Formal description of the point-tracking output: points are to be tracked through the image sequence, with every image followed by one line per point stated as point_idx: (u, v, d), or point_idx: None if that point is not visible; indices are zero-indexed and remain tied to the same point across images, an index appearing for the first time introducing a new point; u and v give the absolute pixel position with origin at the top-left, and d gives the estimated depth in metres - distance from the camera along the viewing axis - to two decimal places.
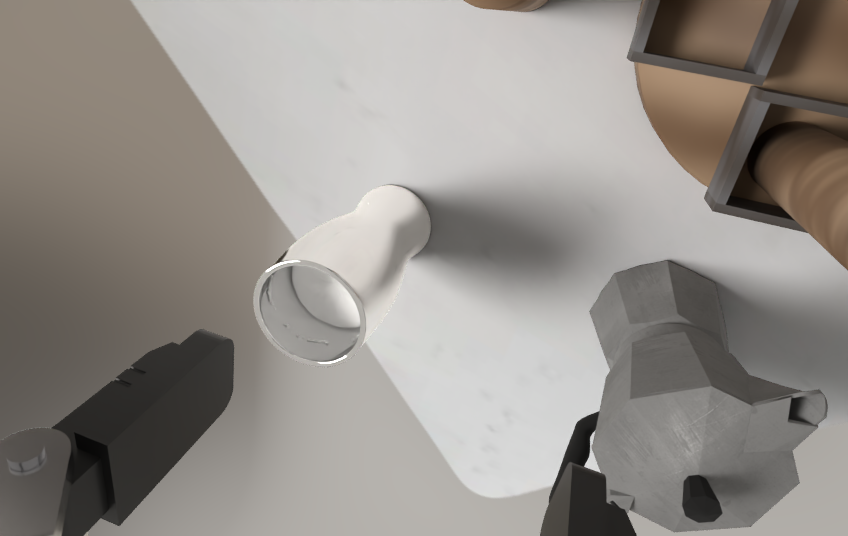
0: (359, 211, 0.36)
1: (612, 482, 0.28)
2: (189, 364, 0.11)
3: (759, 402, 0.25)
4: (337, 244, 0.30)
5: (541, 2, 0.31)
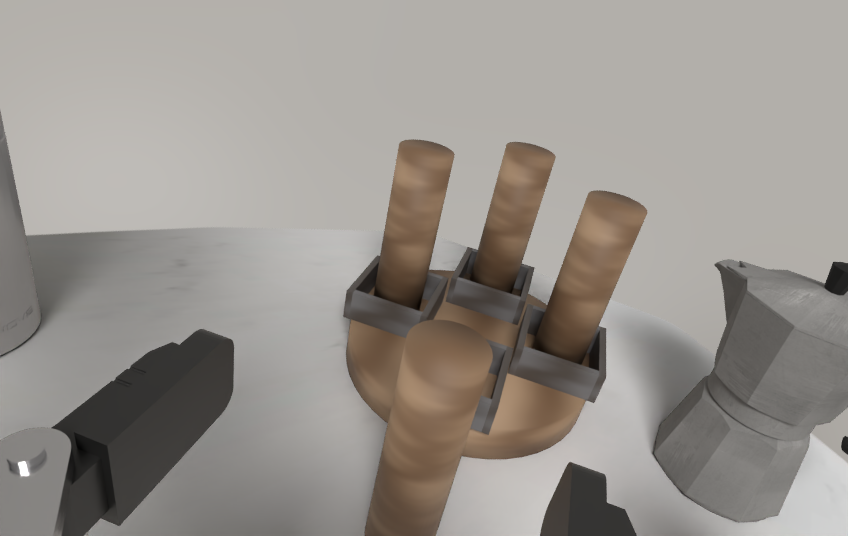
0: None
1: None
2: (189, 364, 0.11)
3: (742, 277, 0.35)
4: None
5: None
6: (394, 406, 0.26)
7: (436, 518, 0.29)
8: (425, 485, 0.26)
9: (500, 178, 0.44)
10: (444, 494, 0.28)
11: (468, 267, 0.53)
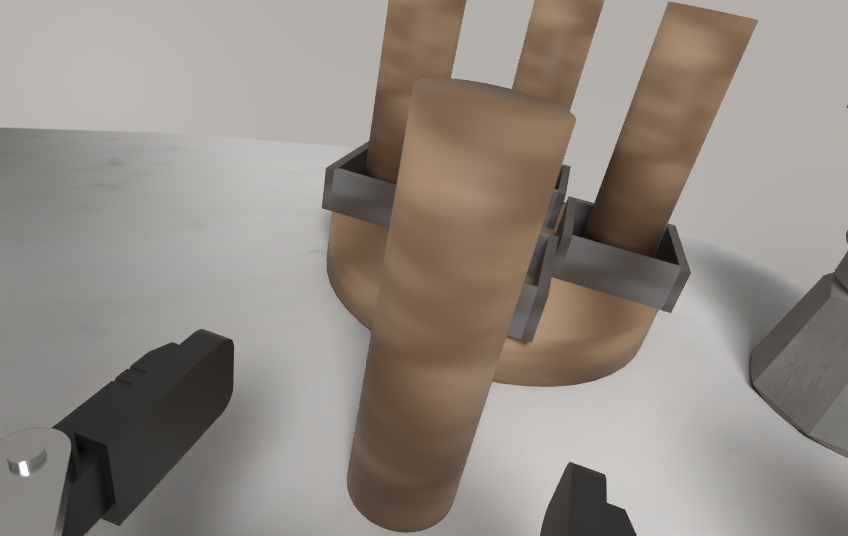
0: None
1: None
2: (189, 364, 0.11)
3: None
4: None
5: None
6: (392, 228, 0.14)
7: (464, 445, 0.17)
8: (448, 374, 0.15)
9: (533, 24, 0.33)
10: (478, 399, 0.16)
11: None
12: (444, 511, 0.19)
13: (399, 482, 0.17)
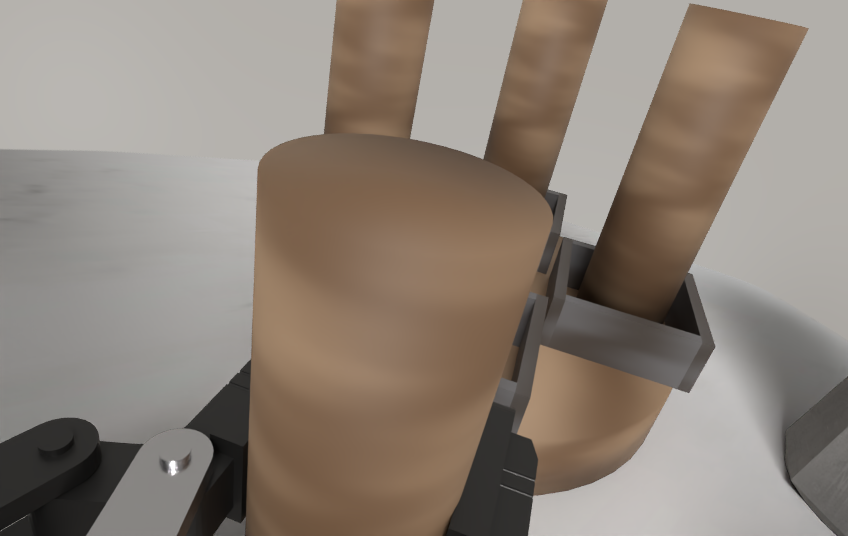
0: None
1: None
2: None
3: None
4: None
5: None
6: (250, 385, 0.09)
7: None
8: None
9: (520, 29, 0.27)
10: None
11: None
12: None
13: None
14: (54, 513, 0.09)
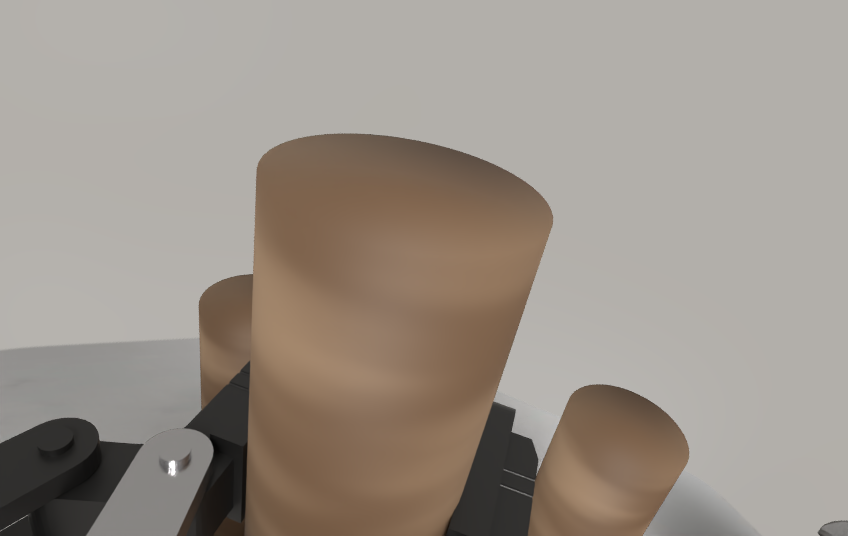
0: None
1: None
2: None
3: None
4: None
5: None
6: (250, 386, 0.09)
7: None
8: None
9: None
10: None
11: None
12: None
13: None
14: (54, 513, 0.09)
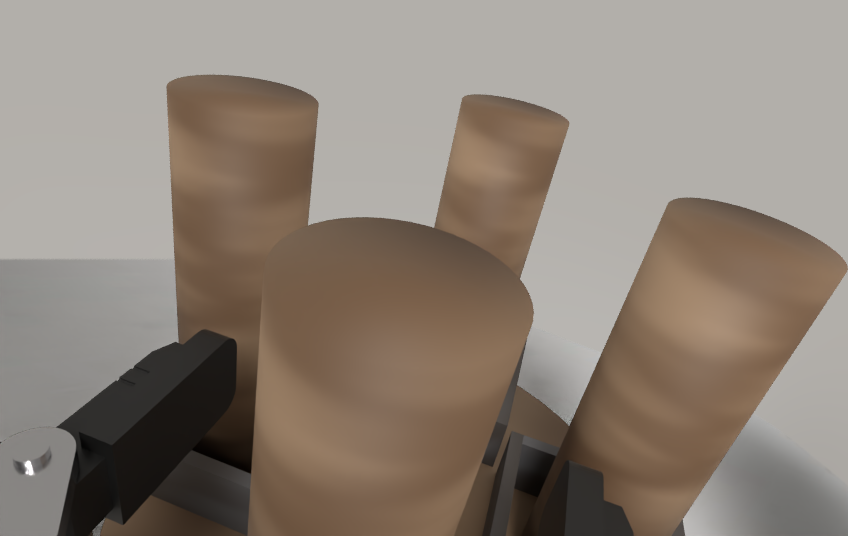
0: None
1: None
2: (193, 364, 0.11)
3: None
4: None
5: None
6: (253, 453, 0.09)
7: None
8: None
9: (451, 171, 0.20)
10: None
11: None
12: None
13: None
14: None
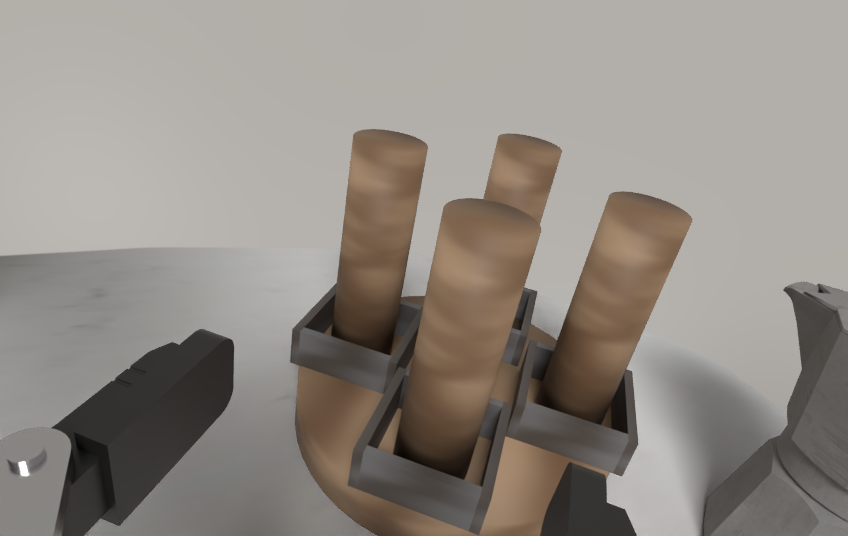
0: None
1: None
2: (189, 364, 0.11)
3: (829, 308, 0.25)
4: None
5: None
6: (429, 293, 0.23)
7: (474, 432, 0.26)
8: (464, 384, 0.23)
9: (492, 180, 0.34)
10: (483, 401, 0.25)
11: None
12: None
13: (431, 457, 0.26)
14: None
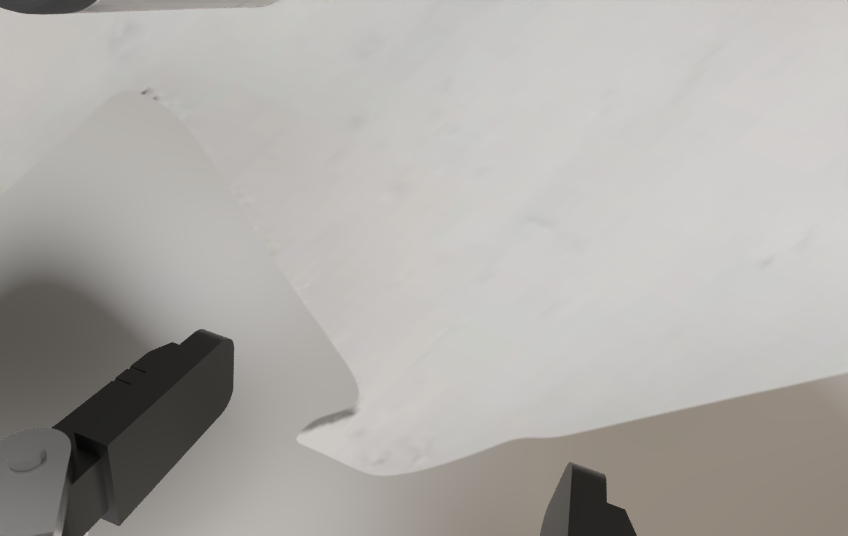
0: None
1: None
2: (189, 364, 0.11)
3: None
4: None
5: None
6: None
7: None
8: None
9: None
10: None
11: None
12: None
13: None
14: None
